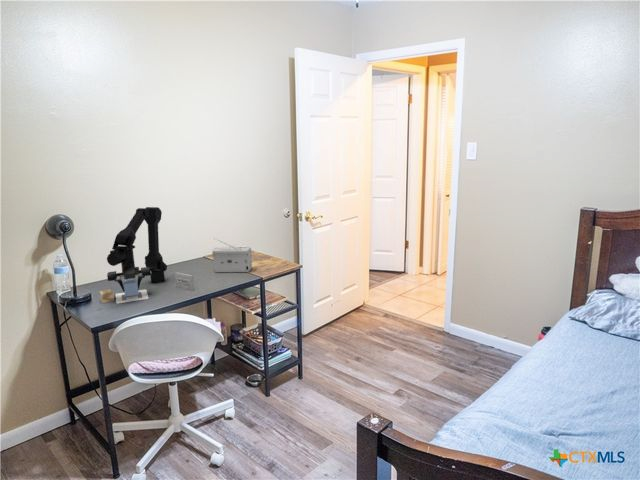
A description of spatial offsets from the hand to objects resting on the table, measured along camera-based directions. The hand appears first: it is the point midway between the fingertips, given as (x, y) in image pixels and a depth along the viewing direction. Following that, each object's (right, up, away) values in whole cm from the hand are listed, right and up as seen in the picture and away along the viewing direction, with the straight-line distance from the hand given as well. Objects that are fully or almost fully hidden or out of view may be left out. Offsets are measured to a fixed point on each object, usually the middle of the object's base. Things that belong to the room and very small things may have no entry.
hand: (131, 290), depth 213 cm
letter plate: (0, -3, +1) cm, 3 cm away
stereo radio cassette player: (+41, +7, +39) cm, 57 cm away
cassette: (+22, 0, +12) cm, 25 cm away
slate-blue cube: (0, -1, 0) cm, 1 cm away
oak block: (-9, -5, -4) cm, 11 cm away
